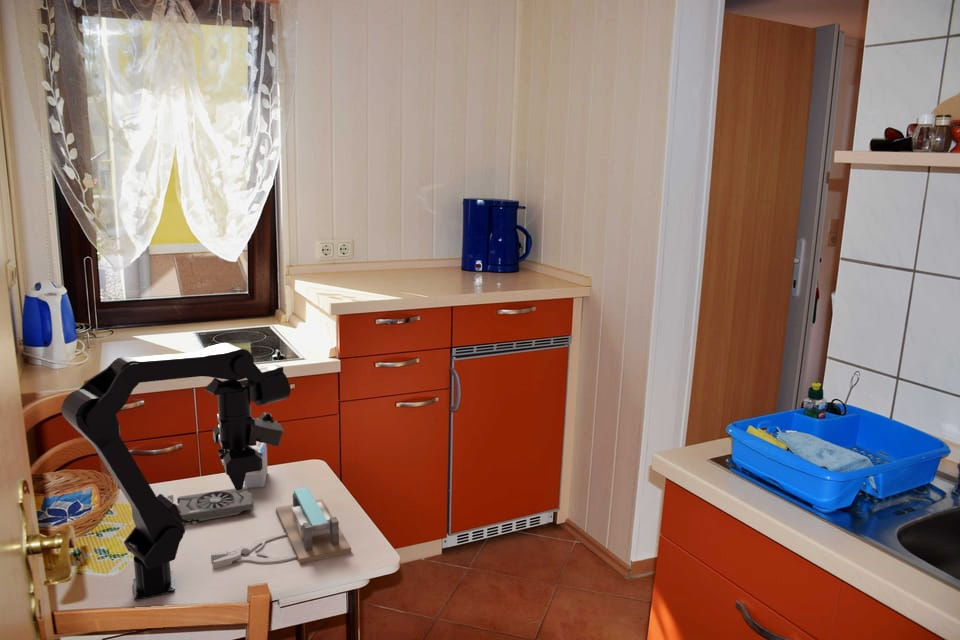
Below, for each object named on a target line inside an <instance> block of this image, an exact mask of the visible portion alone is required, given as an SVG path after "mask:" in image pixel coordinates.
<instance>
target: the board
mask: <svg viewBox="0 0 960 640" xmlns="http://www.w3.org/2000/svg"><path fill="white" fill-rule="evenodd" d="M315 500H316V502H317V504H318V506H319V507H320V509H321V511H322V513H323V514H324V516H325V518H326V520H327V522H329V524H330V529H325V530H320V531H315V532H313V531H312V526H311V524H310V522H309V521H308V519H307V517H306V515H305V513H304V511H303V509H302V507H301V506H297V507H293V503H292V504H288V505H287V504H286V505H282V506H278V507H277V506H276V507H275V513H276V515H277V518H278V520H279V522H280V524H281V526H282V529H283V530H284V533H286V534H287V536H286V537H287V540H288V542H289V545H290V546H291V549H292V550H293V553H294V555H296V556H297V558H296V559H297V562H298V564H299V565H301V564H305V563H309V562H313V561H318V560H323V559H327V558H332V557H336V556H337V557H338V556H340V555H341V556H342V555H345V554H346V555H347V554H349V553H352V547H351V545H350V543H349V541H348V540H347V539H346V537H345V536H344V533H343V532H342V530H341V528H340V525H339V522H340V521H339V520H338V518H337V516H333V515H332V513H331V512H330V511H329V508H328V507H327V504H325V502H324V500H323V499H322V498H319V499H315Z"/></svg>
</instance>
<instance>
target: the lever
mask: <svg viewBox="0 0 960 640" xmlns="http://www.w3.org/2000/svg"><path fill="white" fill-rule="evenodd" d="M293 494H295V496H296V498H297V500H298V502H299V504H300V506H301V507H302V509H303V511H304V513H305V515H306V517H307V519H308V521H309V522H310V524H311V526H312V531H313V532H315V531H320V530H325V529H330V524H329V522H327V520H326V518H325V516H324V514H323V513H322V511H321V509H320V507H319V506H318V504H317V502H316V500H317V499H316V498H315V497H314V494H313V493H312V491H311V489H310V488H309V486H307V487H302V488H301V487H300V488H297V489H296V488H295V489H293Z"/></svg>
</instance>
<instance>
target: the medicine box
mask: <svg viewBox="0 0 960 640" xmlns="http://www.w3.org/2000/svg"><path fill="white" fill-rule="evenodd" d="M267 445H268V444H267V443H261V442H257V441H256V445H255V446H251V447H252V449H253V448H254V449H255V450H256V451H258V452H259V454H260V456H261V458H262V467H263V469H261V470H260V471H254V472H248V473H246V475H245V480H244V487H249V489H254V487H255V488H264V487H265V485H266V479H267V473H268V447H267Z"/></svg>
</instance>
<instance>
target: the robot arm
mask: <svg viewBox="0 0 960 640" xmlns="http://www.w3.org/2000/svg"><path fill="white" fill-rule="evenodd" d="M254 361H255V360H254V357H253V354H252V353H251V352H250V351H249V350H248V349H246V348H243V347H240V346H238V345H235V344H232V343H231V342H222V343H217V344H214V345H209V346H207V347H205V348H202V349H201V350H198V351H194V352H186V353H185V352H183V353H172V354H171V353H170V354H169V353H168V354H157V355H143V356H133V357H132V356H131V357H130V356H120V357H117V358H116V359H115V360H113V361H112V362H111V363H110V365H108V366H107V367H106V368H105V369H104V370H102V371H100V372H98V373H97V374H96V375H94V376H92V377H91V378H89V379H88V380H86V382H84V383H83V385H81V387H80V388H79V389H77V390H74V391H72V392H70V393H69V394H68V395H67V396H66V397H65V398H64V400H63V402H62V405H61V407H60V413H61V414H62V417H63V418H64V419H65V420H66V421H67V422H68V423H69V424H70V425H71V426H72V427H73V428H74V429H75V430H76V431H77V432H78V433H79V434H80V435H81V436H82V437H84V439H85V440H86V441H88V442H89V443H90V444H91V445H92V447H93V449H95V451H96V453H97V454H98V456H99V457H100V459H101V461H102V462H103V464H104V466H105V467H106V468H107V470H108V472H109V473H110V475H111V476H112V478H113V480H114V481H115V483H116V484H117V486H118V487H119V489H120V491H121V493H122V494H123V495H124V497H125V499H126V501H127V502H128V503H129V505H130V507H131V514H132V515H131V516H132V519H133V523H134V528H133V530H131V531H130V533H129V535H128V536H127V537H126V539H125V540H124V541H123V544H124V546H125V548H126V550H127V551H128V552H129V553H131V554H132V555H133V568H134V576H135V577H134V578H133V579H132V583H133V598H134V600H136V601H138V600H142V599H148V598H150V597H156V596H161V595H165V594H169V593H173V592H175V591H176V586H175V581H174V580H175V579H174V574H173V570H171V562H172V561H174V560H175V559H176V556H177V554H178V550H179V546H180V543H181V541H182V539H183V537H184V534H185V533H186V527H185V524H183V523H185V522H186V523H187V521H186V520H185V519H183V518H182V517H181V516H180V514H179V511H178V508H177V506H176V505H177V504H176V503H175V502H174V503H173V502H172V501H171V500H170V499H168V497H166V496H165V495H164V494H163V493H159V494H158V495H156V493H155V492H154V490H153V489H152V487H151V485H150V484H149V482H148V480H147V479H146V477H145V475H144V473H143V472H142V470H141V469H140V467H139V465H138V463H137V462H136V460H135V458H134V457H133V456H132V454H131V452H130V451H129V449H128V447H127V445H126V444H125V442H124V440H123V438H122V436H121V429H120V428H121V427H120V423H119V419H118V416H117V414H118V413H119V412H120V411H121V410H122V409H123V408H124V406H125V405H126V404H127V402H128V400H129V398H130V397H131V395H132V392H133V390H134V389H135V388H136V387H137V386H138V385H139V384H140V383H149V382H150V383H151V382H159V381H168V380H179V379H188V378H198V377H206V378H207V377H209V378H213V379H212V380H211V382H210V383H209V384H207V385H206V386H205V387H204V389H205V391H206V392H208V393H211V395H214V396H217V410H218V413H217V414H216V415H217V416H216V419H217V421H218V422H217V423H218V424H217V425H216V426H215V427H214V428H213V430H212V435H213V438H212V439H213V440H214V443H215V444H220V448H221V449H218V450H217V453H218V455H219V458H220V461H221V464H222V466H223V469H224V471H225V474H226V475H227V476H228V478H229V479H230V481H231V483H232V485H233V487H234V488H235V489H236V490H237V491H238V490H242V488H243V487H244V485H245V475H246V473H248V472H254V471H260V470H261V469H263V467H262V458H261V456H260V454H259V452H258V451H256V450H255V449H254V448H253V449H252V447H251V446H255V445H256V441H257V442H261V443H267V445H271V446H274V447H279V446H280V443H281V440H282V438H283V434H284V432H285V430H284V428H283V426H282V425H281V424H280V423H279V422H278V421H276V420H275V421H274V417H273V414H271V413H270V412H265V411H264V412H263V413H261V414H260V416H259V417H256V418H254V416H253V415H252V407H251V402H252V403H254V404H255V405H257V406H259V407H261V406H264V405H269V404H272V403H275V402H280V401H283V400H286V399H288V398H289V396H290V395H291V384H290V383H289V380H288V377H287V375H286V374H285V373H284V366H281V365H278V364H276V365H275V364H274V365H271V366H269V367H266V368H262V369H260V368H259V367H258V366H257V365H256V364H255V362H254Z"/></svg>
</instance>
